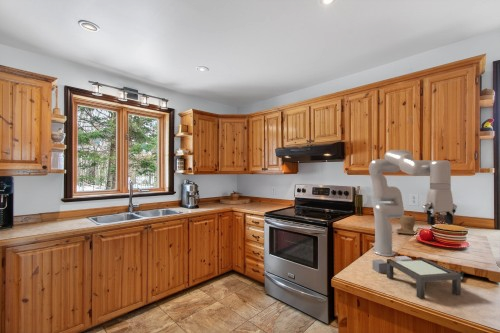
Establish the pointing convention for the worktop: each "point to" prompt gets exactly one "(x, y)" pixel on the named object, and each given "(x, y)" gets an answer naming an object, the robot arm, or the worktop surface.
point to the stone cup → (406, 225)
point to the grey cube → (380, 266)
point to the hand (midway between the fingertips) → (440, 224)
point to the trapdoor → (418, 266)
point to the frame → (427, 276)
